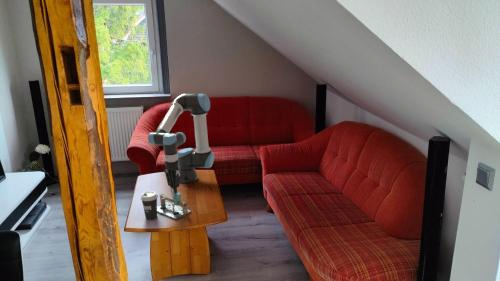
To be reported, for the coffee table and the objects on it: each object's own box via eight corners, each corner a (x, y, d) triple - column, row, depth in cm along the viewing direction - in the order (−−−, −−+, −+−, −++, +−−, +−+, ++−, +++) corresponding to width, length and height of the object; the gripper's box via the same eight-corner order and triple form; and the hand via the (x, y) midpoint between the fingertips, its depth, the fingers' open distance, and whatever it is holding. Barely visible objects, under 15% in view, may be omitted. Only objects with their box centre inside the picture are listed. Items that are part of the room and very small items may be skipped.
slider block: (178, 208, 225) (177, 192, 222) (182, 209, 223) (180, 193, 220) (171, 211, 220) (170, 195, 217) (174, 213, 219) (173, 196, 216)
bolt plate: (167, 203, 235) (167, 201, 234) (191, 212, 222) (191, 210, 221) (152, 210, 226) (151, 208, 225) (176, 220, 213) (175, 218, 212)
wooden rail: (163, 203, 232) (162, 193, 231) (187, 212, 219) (186, 202, 217) (157, 206, 228) (156, 196, 227) (181, 216, 215) (180, 205, 214)
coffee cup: (144, 214, 221) (142, 191, 217) (160, 213, 222) (158, 190, 217) (141, 222, 212) (138, 198, 207) (158, 220, 212) (156, 197, 208)
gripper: (159, 160, 216) (162, 196, 223) (173, 164, 208) (177, 202, 215) (169, 156, 222) (172, 192, 228) (183, 160, 214) (186, 197, 220)
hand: (174, 197), depth 221 cm, fingers closed
